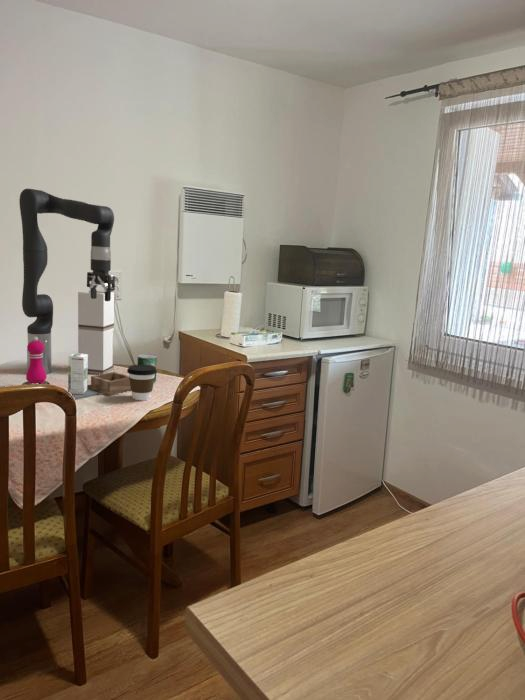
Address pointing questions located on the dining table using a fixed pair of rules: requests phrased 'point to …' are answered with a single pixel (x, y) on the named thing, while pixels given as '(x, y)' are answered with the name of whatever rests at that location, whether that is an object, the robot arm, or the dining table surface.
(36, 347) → the pepper mill
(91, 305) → the banded white pillar
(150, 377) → the coffee cup
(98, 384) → the wooden tray
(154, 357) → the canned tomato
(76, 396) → the mat
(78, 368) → the syrup box
